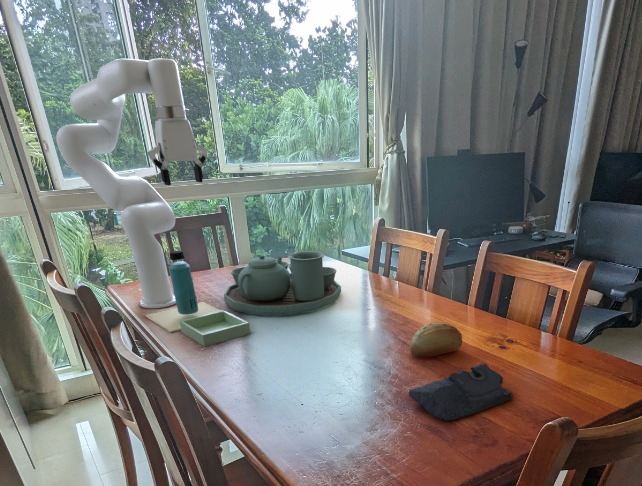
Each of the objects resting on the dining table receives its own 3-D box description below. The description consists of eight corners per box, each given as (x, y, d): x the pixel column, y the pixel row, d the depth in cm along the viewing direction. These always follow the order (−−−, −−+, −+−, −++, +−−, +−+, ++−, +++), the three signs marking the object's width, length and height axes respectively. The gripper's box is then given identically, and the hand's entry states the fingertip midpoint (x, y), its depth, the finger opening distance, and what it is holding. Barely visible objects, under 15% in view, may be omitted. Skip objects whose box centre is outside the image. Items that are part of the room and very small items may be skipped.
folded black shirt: (397, 397, 114) (398, 378, 111) (470, 373, 124) (472, 354, 121) (443, 426, 102) (445, 406, 100) (519, 397, 113) (522, 377, 110)
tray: (181, 331, 152) (179, 321, 150) (225, 320, 160) (223, 310, 158) (204, 346, 142) (202, 335, 140) (250, 333, 150) (249, 322, 148)
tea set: (349, 284, 192) (348, 238, 183) (325, 319, 158) (322, 265, 150) (249, 281, 198) (243, 237, 189) (205, 315, 164) (196, 263, 156)
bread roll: (470, 354, 133) (473, 325, 129) (420, 365, 128) (422, 335, 124) (450, 342, 141) (453, 314, 136) (402, 351, 136) (403, 322, 131)
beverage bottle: (194, 319, 159) (181, 254, 149) (174, 318, 160) (160, 253, 150) (203, 313, 165) (191, 249, 154) (184, 312, 166) (171, 248, 155)
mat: (145, 316, 165) (145, 315, 164) (203, 303, 175) (202, 301, 175) (171, 333, 151) (170, 331, 151) (231, 317, 162) (230, 315, 162)
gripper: (195, 114, 146) (205, 180, 155) (134, 115, 137) (149, 185, 146) (206, 113, 141) (217, 181, 150) (145, 114, 132) (160, 187, 141)
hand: (183, 183), depth 148 cm, fingers open, 9 cm apart
